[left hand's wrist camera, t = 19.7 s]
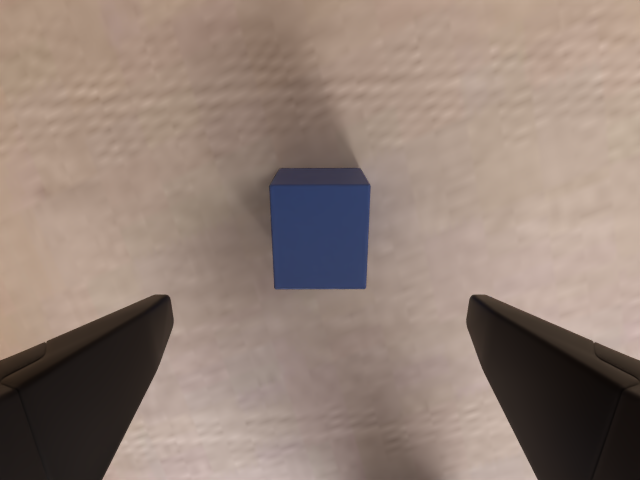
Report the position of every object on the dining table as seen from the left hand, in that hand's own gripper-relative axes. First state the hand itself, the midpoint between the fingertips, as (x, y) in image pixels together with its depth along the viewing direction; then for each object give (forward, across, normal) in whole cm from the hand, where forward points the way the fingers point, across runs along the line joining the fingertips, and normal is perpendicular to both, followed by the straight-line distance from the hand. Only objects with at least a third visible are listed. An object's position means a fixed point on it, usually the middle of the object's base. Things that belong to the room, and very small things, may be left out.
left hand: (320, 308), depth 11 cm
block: (+10, 0, 0) cm, 10 cm away
